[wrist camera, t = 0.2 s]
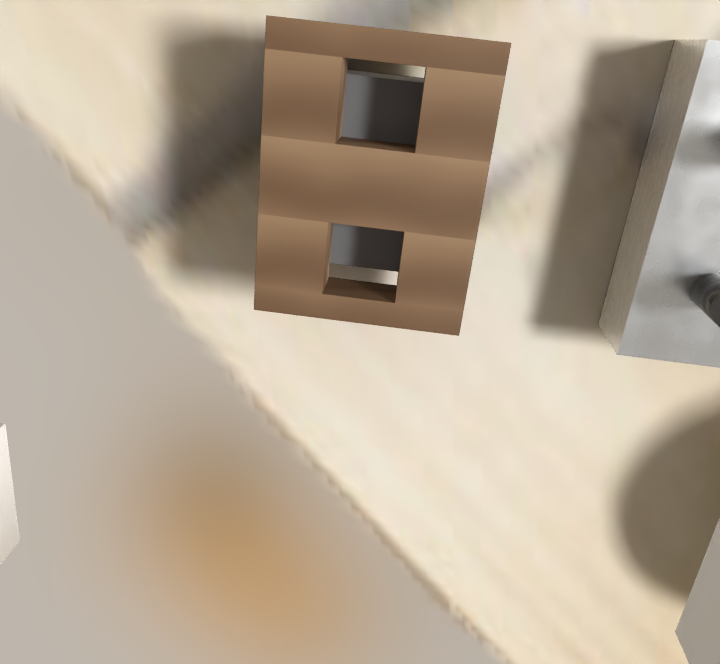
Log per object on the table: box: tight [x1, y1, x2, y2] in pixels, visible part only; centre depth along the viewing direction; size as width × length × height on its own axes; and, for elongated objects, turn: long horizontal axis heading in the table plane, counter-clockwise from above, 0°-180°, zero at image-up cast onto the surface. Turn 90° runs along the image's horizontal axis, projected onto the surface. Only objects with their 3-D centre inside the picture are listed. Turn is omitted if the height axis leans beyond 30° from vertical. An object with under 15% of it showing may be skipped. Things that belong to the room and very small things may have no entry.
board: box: [254, 15, 511, 336], centre depth 31 cm, size 13×10×2 cm
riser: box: [330, 69, 424, 272], centre depth 34 cm, size 9×6×4 cm, turn 174°
